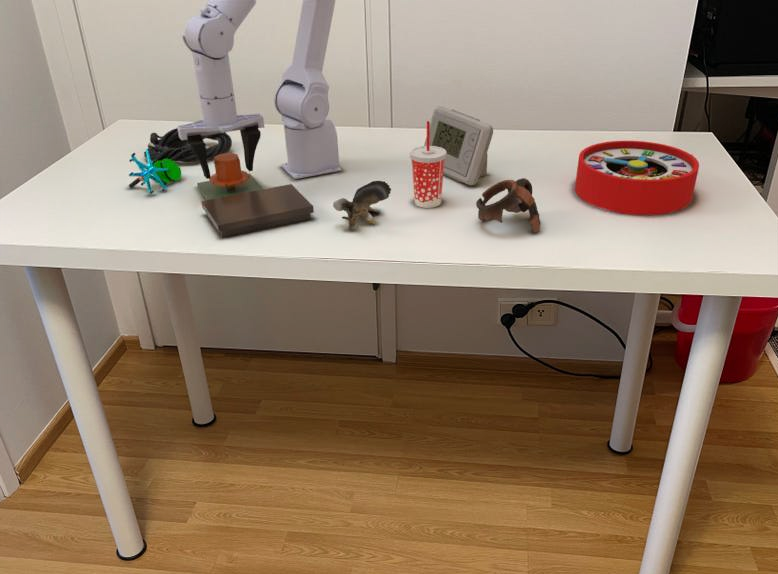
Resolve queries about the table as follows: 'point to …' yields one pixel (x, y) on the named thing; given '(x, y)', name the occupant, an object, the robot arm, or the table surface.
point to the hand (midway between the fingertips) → (228, 173)
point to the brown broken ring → (509, 202)
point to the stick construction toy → (155, 172)
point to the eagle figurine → (363, 202)
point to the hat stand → (227, 188)
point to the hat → (228, 170)
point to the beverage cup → (428, 173)
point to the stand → (257, 210)
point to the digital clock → (461, 144)
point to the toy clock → (636, 177)
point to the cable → (184, 147)
